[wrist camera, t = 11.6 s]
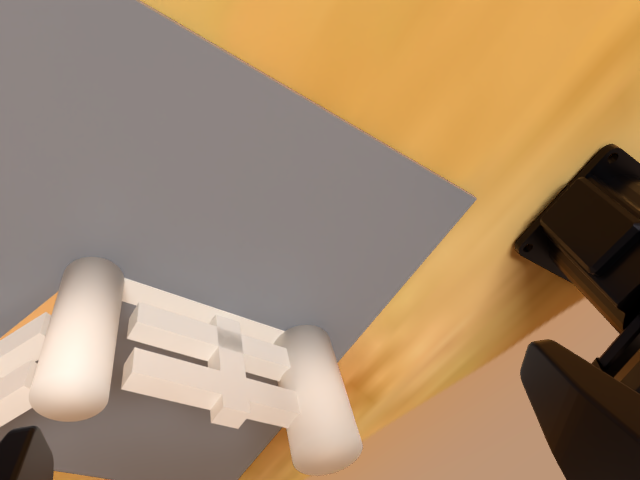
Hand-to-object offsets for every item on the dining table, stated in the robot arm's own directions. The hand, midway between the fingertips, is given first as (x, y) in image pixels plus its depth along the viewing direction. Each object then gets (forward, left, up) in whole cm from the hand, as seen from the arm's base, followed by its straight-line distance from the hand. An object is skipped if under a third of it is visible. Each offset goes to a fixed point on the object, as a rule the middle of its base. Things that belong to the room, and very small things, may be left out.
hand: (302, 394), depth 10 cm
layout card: (+2, +10, -13) cm, 17 cm away
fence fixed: (-3, +9, -13) cm, 16 cm away
